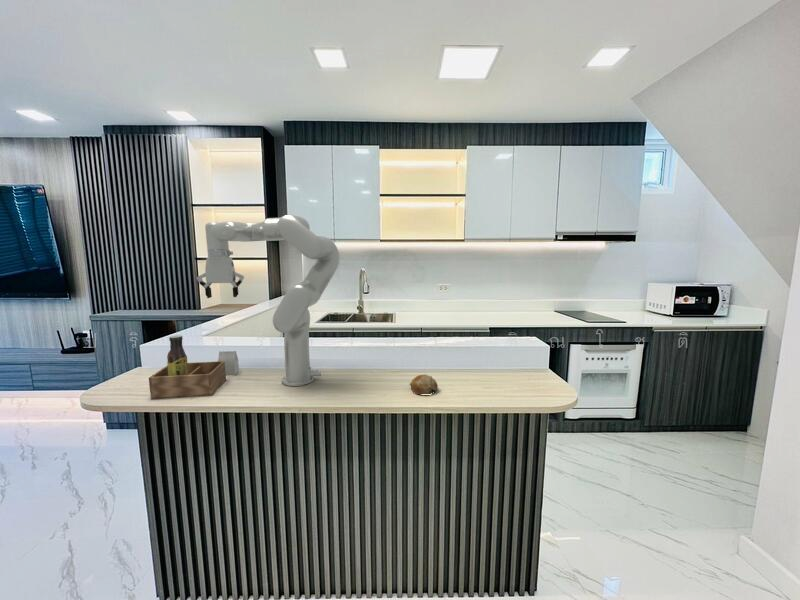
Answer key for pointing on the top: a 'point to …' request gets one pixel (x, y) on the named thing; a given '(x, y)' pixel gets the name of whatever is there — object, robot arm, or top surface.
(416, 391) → the bread roll
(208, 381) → the crate
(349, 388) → the top surface
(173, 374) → the sauce bottle
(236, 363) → the printed food box
